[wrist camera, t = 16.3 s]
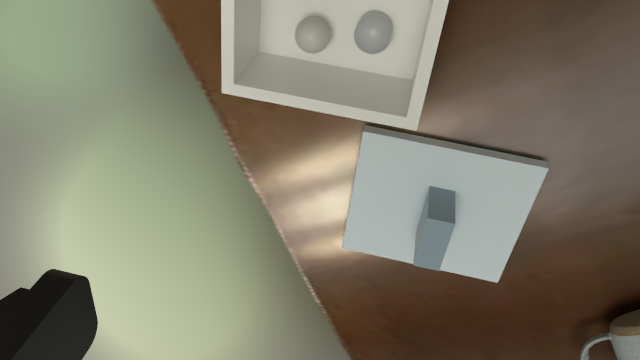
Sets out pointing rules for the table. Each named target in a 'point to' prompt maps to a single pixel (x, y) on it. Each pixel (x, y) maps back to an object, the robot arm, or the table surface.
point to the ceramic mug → (620, 337)
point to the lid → (439, 202)
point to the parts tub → (333, 55)
